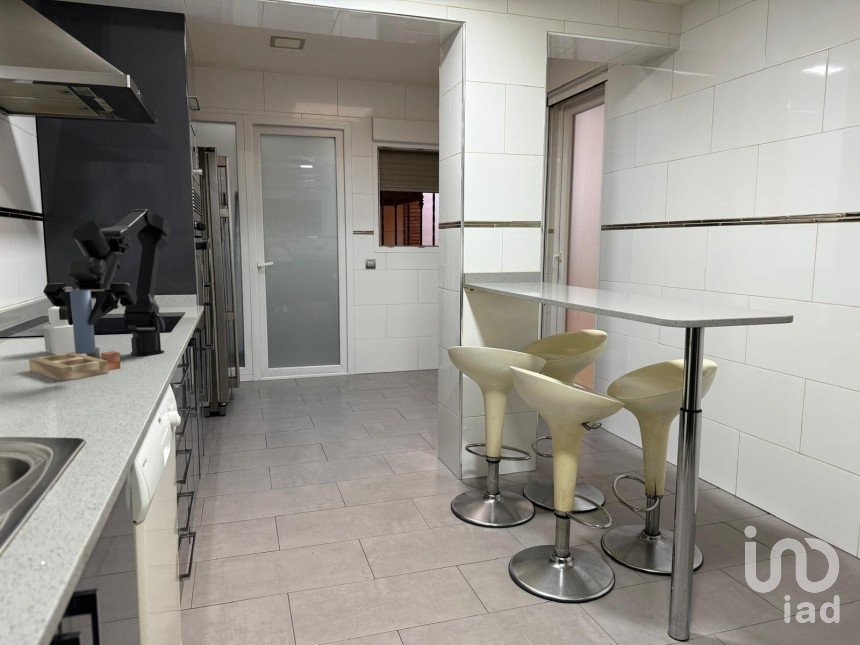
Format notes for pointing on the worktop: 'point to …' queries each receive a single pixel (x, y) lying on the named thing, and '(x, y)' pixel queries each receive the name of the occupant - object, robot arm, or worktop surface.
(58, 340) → the container
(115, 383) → the worktop surface
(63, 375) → the socket board
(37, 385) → the worktop surface
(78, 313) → the blue-grey cylinder
